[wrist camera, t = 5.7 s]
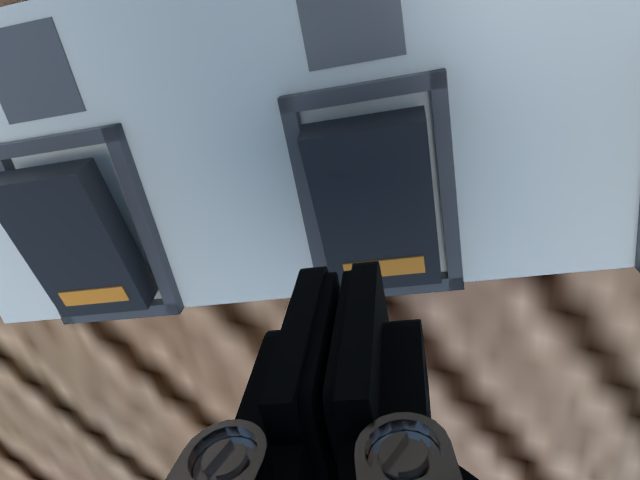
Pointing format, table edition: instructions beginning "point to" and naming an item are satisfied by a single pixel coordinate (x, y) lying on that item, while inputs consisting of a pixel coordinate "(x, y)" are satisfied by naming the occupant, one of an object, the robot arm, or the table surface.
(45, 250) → the rocker
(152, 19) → the rocker switch panel
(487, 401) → the table surface
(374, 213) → the rocker middle
